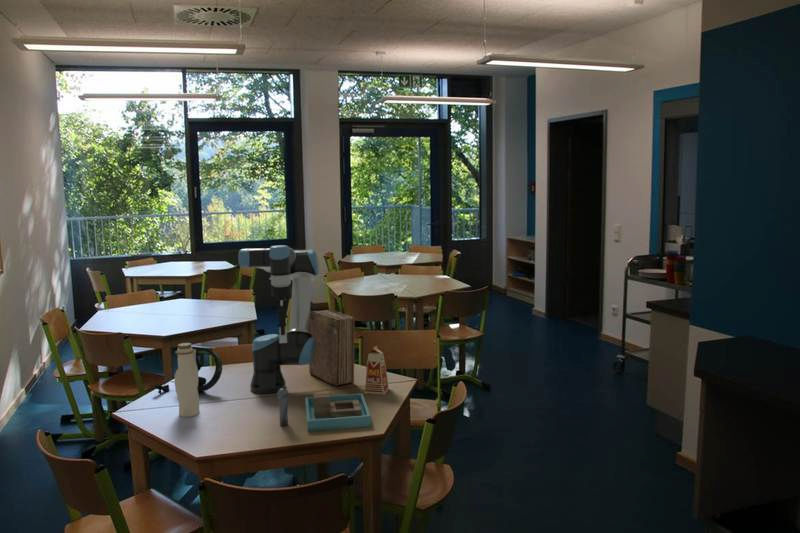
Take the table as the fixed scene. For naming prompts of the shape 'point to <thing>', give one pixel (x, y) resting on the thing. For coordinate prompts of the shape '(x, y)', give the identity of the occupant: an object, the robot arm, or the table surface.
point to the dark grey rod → (283, 406)
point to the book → (332, 346)
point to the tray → (340, 422)
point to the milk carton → (376, 373)
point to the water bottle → (187, 381)
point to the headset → (201, 381)
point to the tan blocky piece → (335, 407)
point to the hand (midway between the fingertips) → (283, 338)
